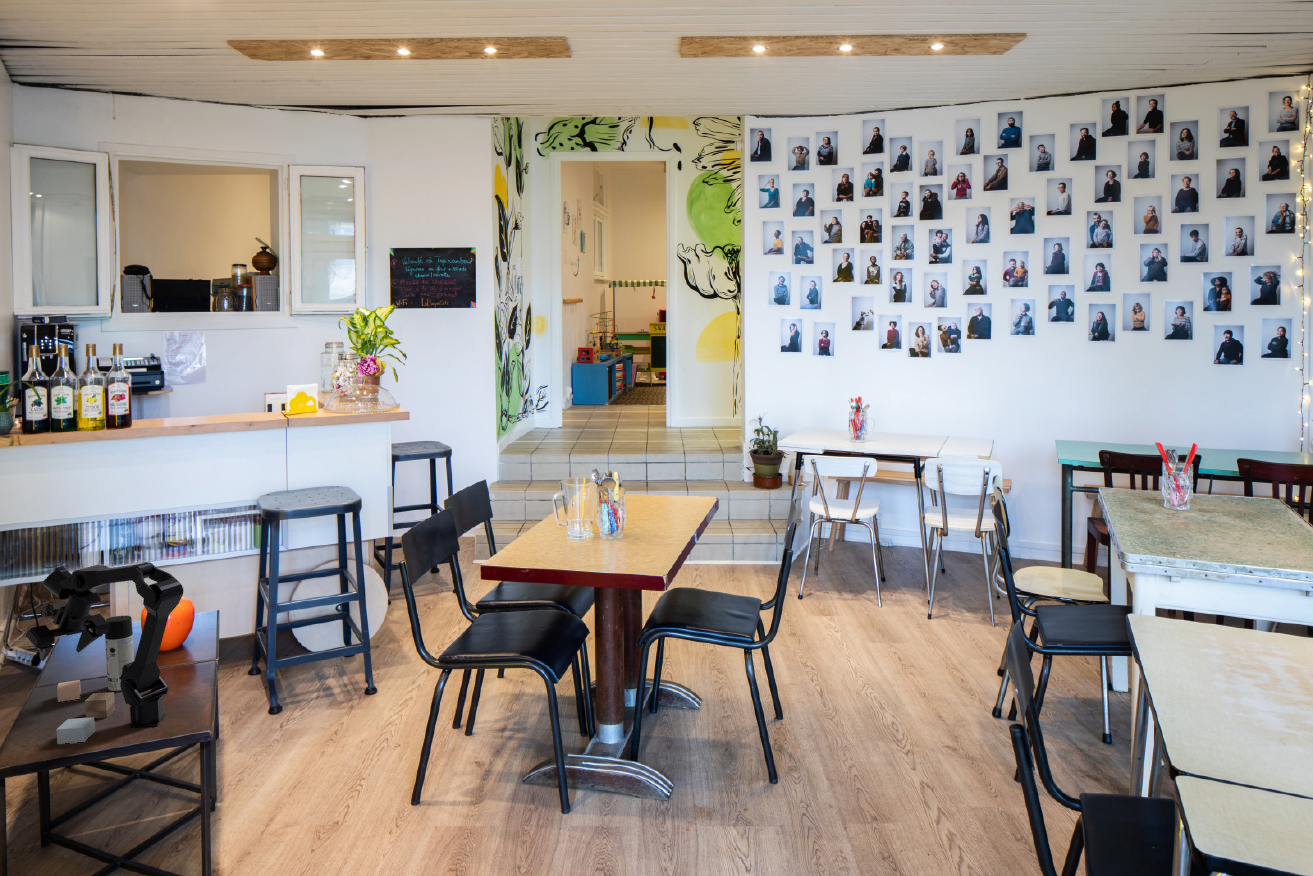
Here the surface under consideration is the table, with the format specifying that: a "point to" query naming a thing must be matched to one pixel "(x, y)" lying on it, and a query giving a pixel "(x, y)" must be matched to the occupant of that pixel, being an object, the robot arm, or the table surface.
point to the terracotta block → (68, 690)
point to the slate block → (75, 730)
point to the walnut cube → (100, 705)
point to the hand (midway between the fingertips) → (60, 655)
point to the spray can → (118, 649)
